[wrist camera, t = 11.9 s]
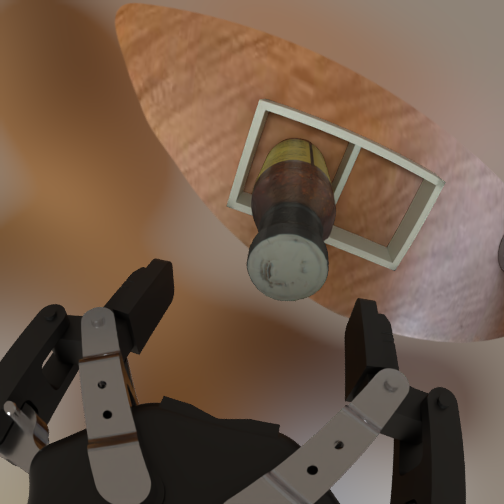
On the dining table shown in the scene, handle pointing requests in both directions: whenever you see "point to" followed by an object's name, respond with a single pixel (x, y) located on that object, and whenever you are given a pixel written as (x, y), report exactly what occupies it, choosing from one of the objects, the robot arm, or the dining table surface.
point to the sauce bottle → (291, 222)
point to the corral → (338, 236)
